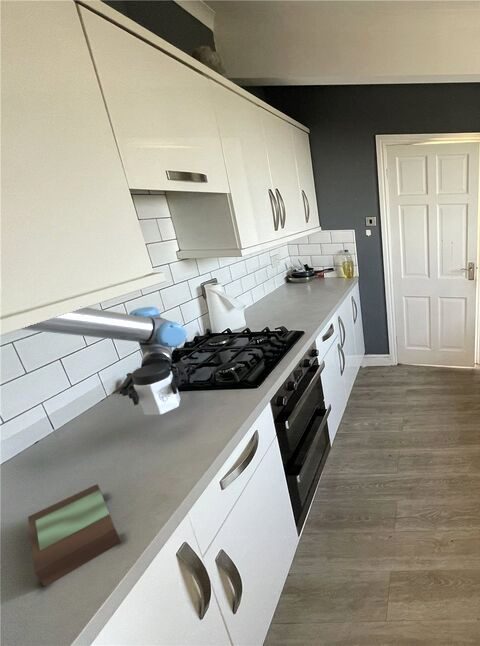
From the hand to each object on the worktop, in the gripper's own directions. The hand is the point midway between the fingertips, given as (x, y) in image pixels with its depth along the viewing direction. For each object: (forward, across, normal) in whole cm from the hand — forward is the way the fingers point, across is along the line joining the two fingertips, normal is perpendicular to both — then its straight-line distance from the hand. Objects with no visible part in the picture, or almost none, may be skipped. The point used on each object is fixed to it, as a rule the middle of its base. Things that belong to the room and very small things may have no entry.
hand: (154, 394), depth 92 cm
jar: (-5, 0, -7) cm, 8 cm away
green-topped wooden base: (+22, +16, -17) cm, 33 cm away
